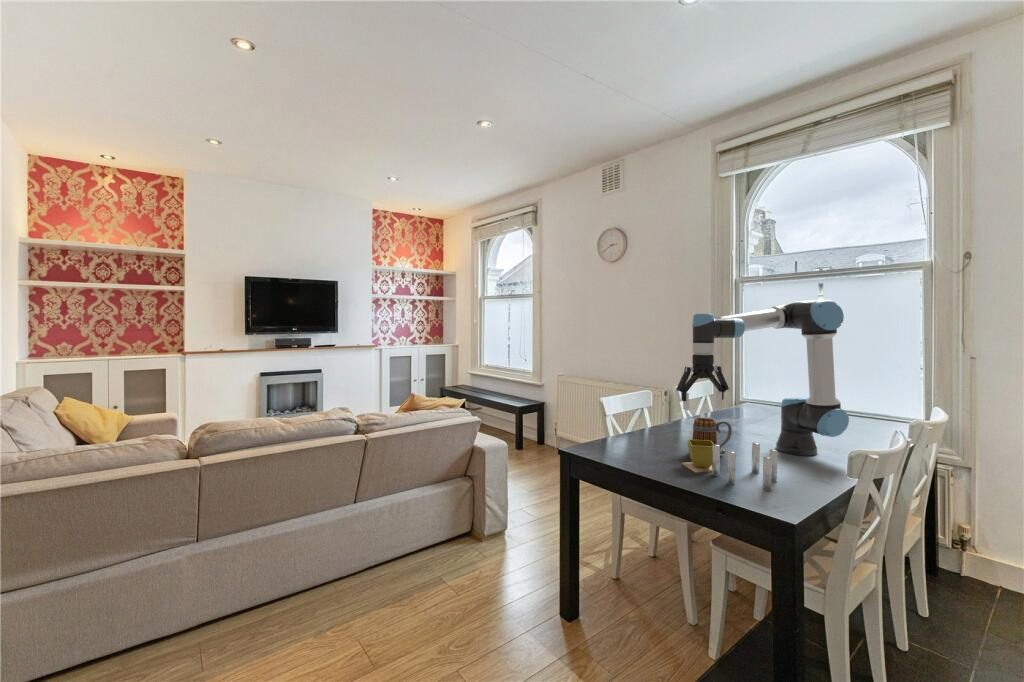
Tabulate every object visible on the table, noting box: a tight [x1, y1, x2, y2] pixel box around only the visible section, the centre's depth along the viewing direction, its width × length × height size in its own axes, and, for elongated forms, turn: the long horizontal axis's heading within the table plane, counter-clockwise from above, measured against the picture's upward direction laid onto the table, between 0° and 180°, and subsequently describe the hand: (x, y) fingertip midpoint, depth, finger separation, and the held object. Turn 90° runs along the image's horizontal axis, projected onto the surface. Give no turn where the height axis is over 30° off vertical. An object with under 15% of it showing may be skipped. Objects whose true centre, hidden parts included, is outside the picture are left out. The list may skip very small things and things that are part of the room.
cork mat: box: [681, 461, 712, 473], centre depth 175 cm, size 10×10×1 cm
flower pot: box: [687, 439, 713, 468], centre depth 175 cm, size 9×9×9 cm
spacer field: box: [711, 441, 778, 493], centre depth 160 cm, size 18×19×11 cm
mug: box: [691, 417, 733, 455], centre depth 191 cm, size 16×11×15 cm
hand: (702, 409), depth 175 cm, fingers open, 13 cm apart
